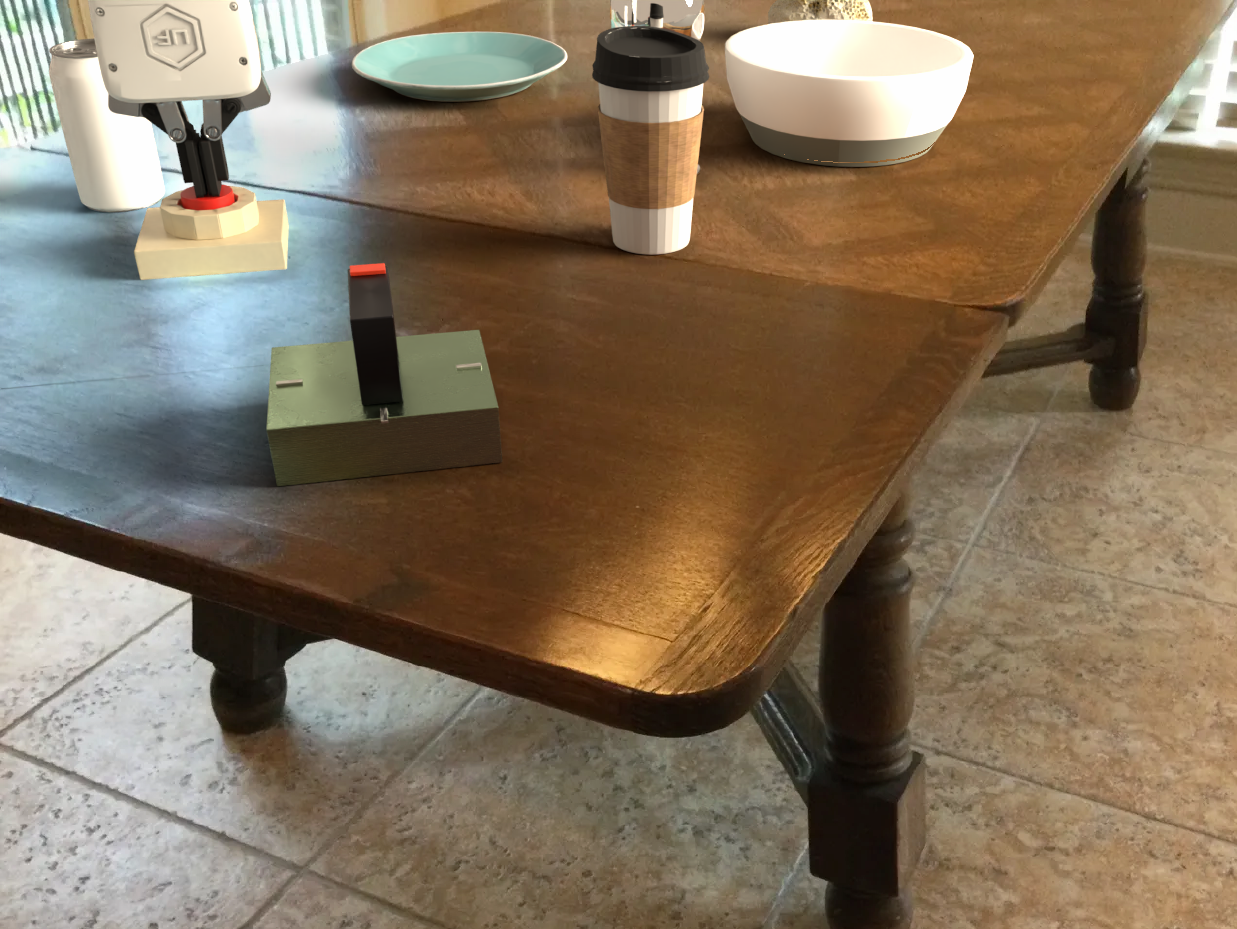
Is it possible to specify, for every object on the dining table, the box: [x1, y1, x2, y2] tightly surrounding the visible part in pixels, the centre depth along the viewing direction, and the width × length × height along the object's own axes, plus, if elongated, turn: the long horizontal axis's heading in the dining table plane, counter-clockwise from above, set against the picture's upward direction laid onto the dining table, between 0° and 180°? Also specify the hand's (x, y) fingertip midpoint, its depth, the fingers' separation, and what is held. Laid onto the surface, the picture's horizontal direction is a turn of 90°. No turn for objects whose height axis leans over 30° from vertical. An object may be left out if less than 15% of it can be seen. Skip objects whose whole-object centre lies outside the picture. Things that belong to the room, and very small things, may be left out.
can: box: [48, 38, 166, 213], centre depth 102 cm, size 6×6×12 cm
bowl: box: [724, 20, 974, 168], centre depth 120 cm, size 22×22×8 cm
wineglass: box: [609, 0, 706, 178], centre depth 108 cm, size 8×8×20 cm
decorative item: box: [767, 0, 873, 24], centre depth 154 cm, size 12×9×10 cm
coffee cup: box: [591, 26, 710, 256], centre depth 96 cm, size 8×8×15 cm
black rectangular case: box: [347, 262, 403, 405], centre depth 71 cm, size 7×2×5 cm, turn 14°
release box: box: [133, 185, 290, 281], centre depth 96 cm, size 10×9×4 cm
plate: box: [351, 31, 568, 103], centre depth 136 cm, size 22×22×3 cm
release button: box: [180, 183, 235, 211], centre depth 95 cm, size 4×4×2 cm
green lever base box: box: [265, 329, 503, 487], centre depth 74 cm, size 12×11×4 cm
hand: (209, 190), depth 94 cm, fingers closed
